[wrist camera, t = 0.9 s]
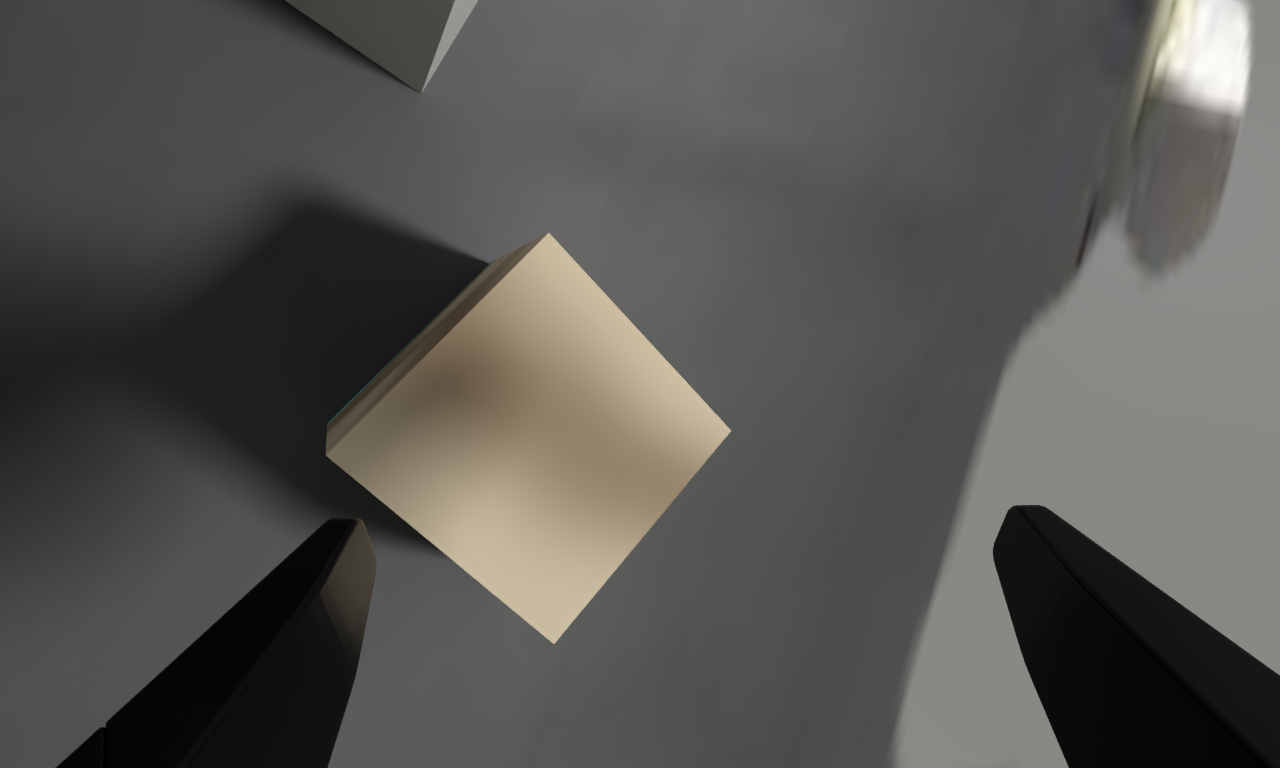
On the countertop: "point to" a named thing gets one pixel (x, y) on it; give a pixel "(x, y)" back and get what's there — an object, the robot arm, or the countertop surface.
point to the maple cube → (528, 434)
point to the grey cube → (394, 31)
